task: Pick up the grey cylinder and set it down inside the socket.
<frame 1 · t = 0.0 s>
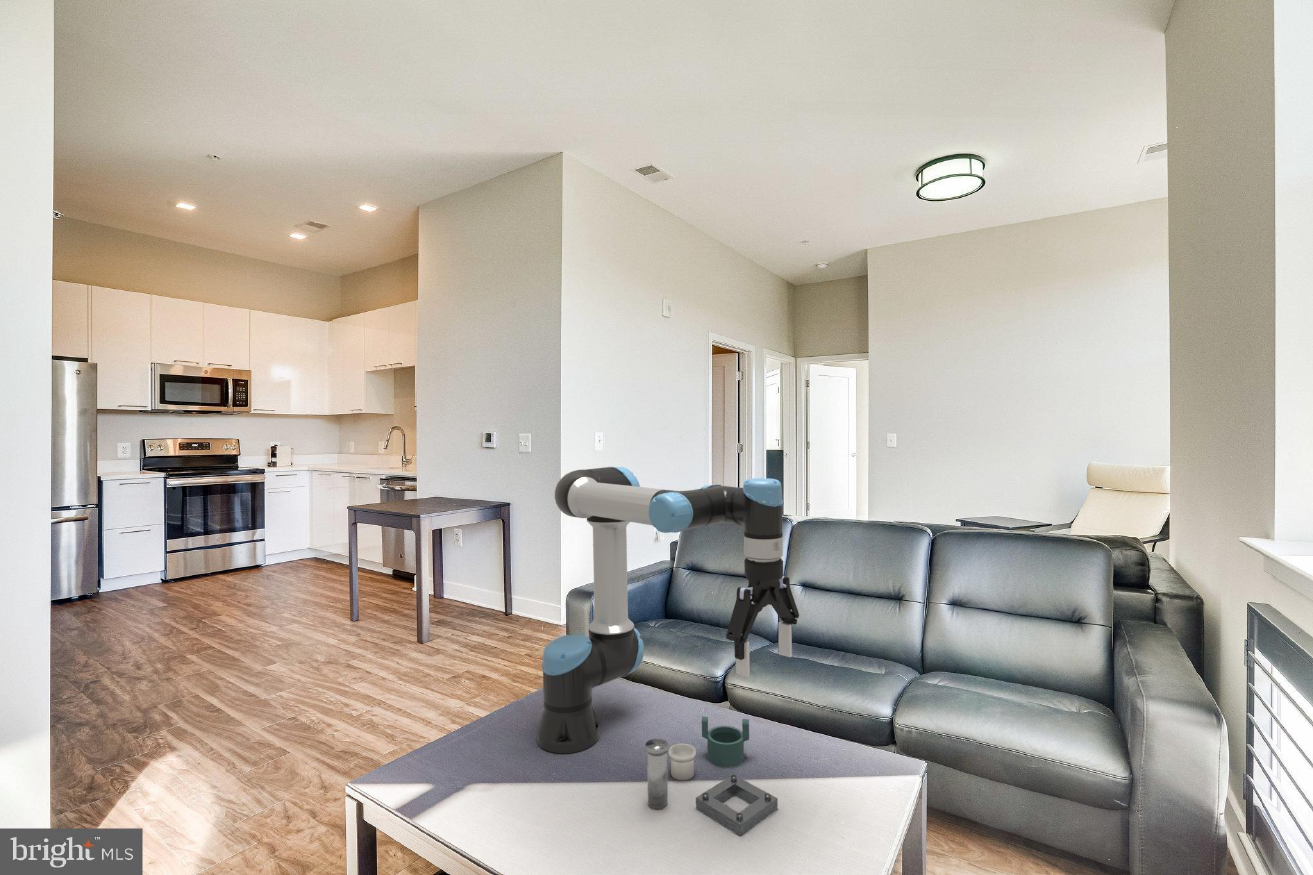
hand: (764, 664, 121), 28 cm above the table, fingers open, 13 cm apart
socket: (736, 808, 120), on the table
grey cylinder: (657, 803, 122), on the table
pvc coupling: (682, 773, 133), on the table
green cup holder: (725, 756, 139), on the table
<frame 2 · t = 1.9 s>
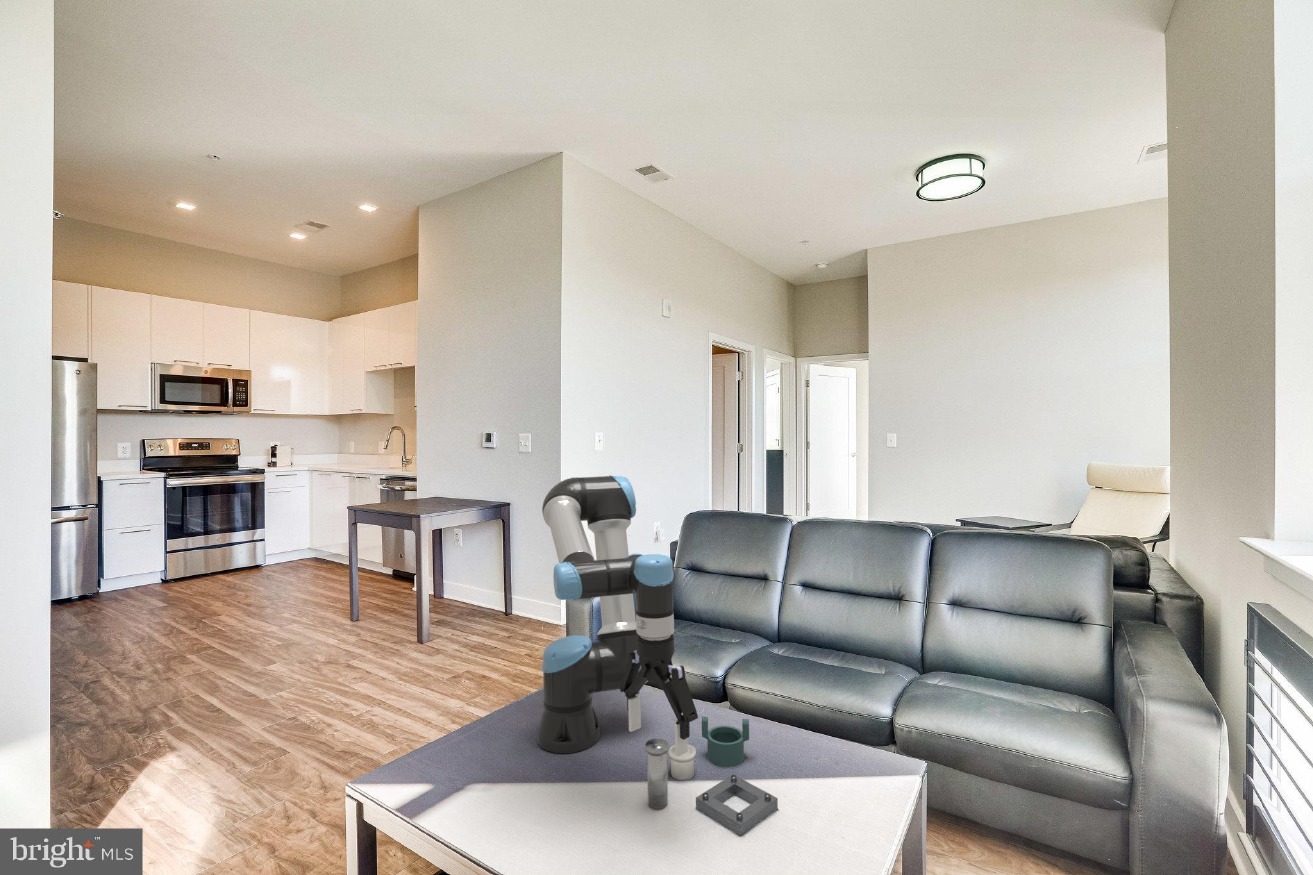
hand: (657, 741, 122), 13 cm above the table, fingers open, 13 cm apart
nothing on the table moved.
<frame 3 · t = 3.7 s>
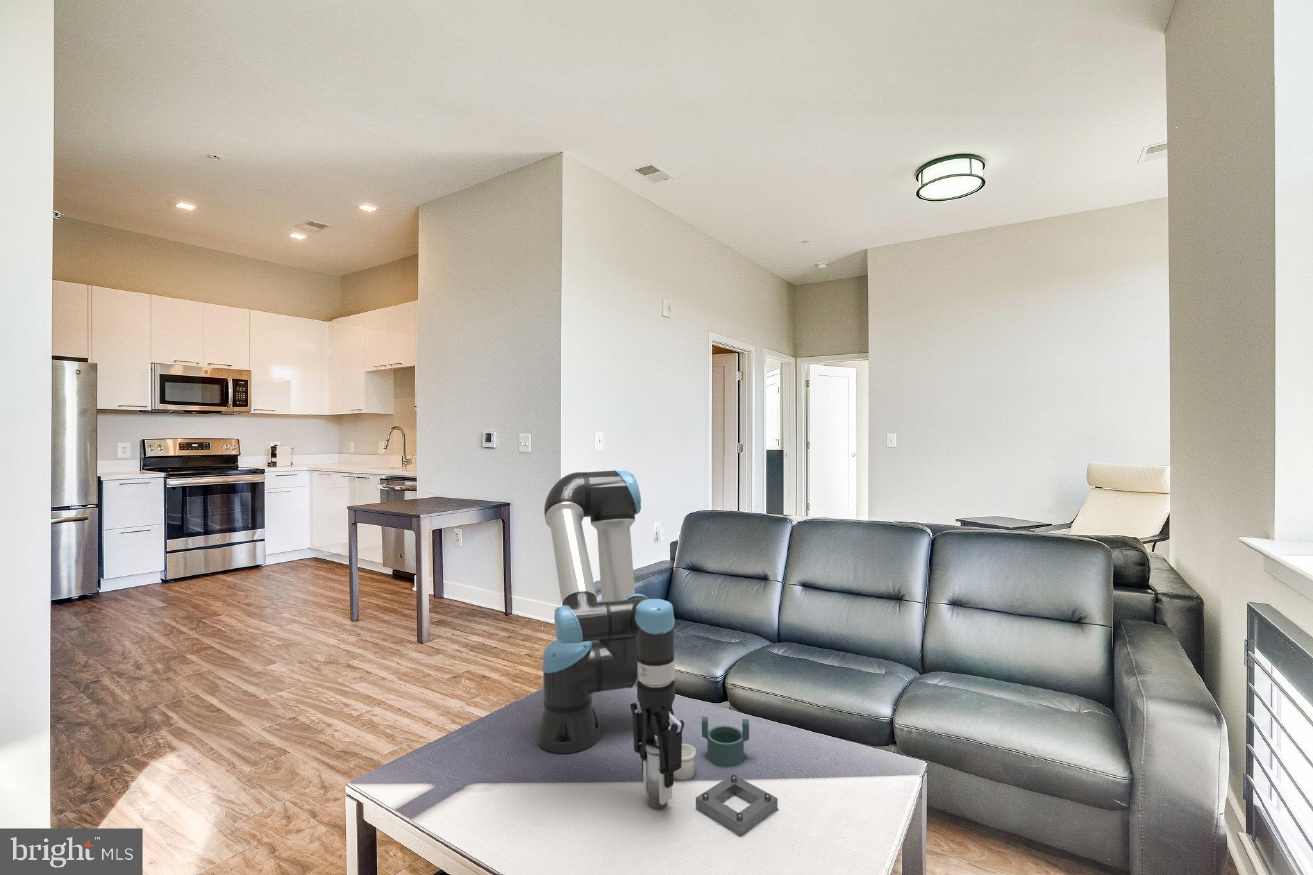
hand: (657, 795, 122), 2 cm above the table, fingers closed on grey cylinder, 4 cm apart
grey cylinder: (657, 803, 122), on the table, touching gripper
everything else where it was.
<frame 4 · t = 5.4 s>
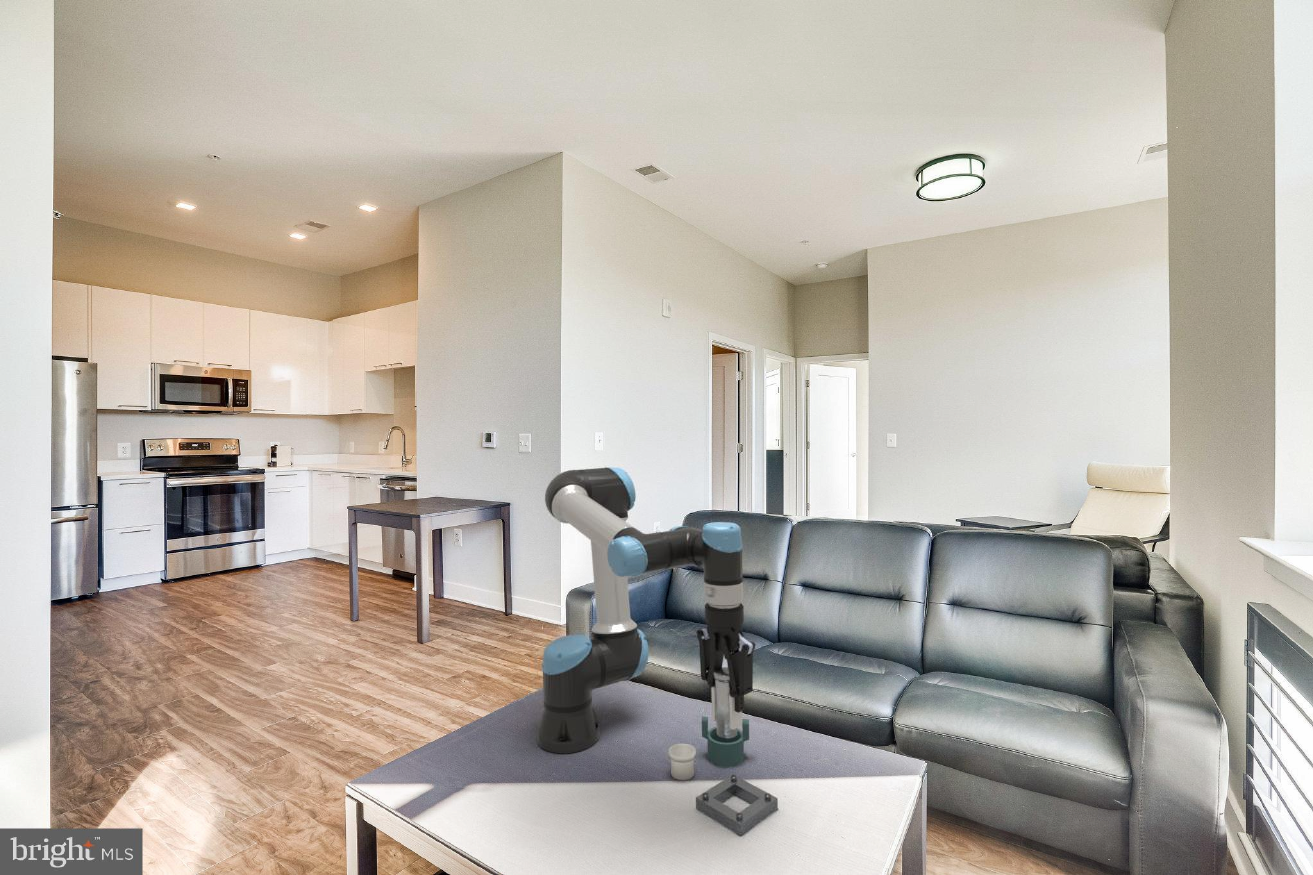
hand: (727, 722, 119), 17 cm above the table, fingers closed on grey cylinder, 4 cm apart
grey cylinder: (727, 733, 119), point 15 cm above the table, touching gripper
everything else where it was.
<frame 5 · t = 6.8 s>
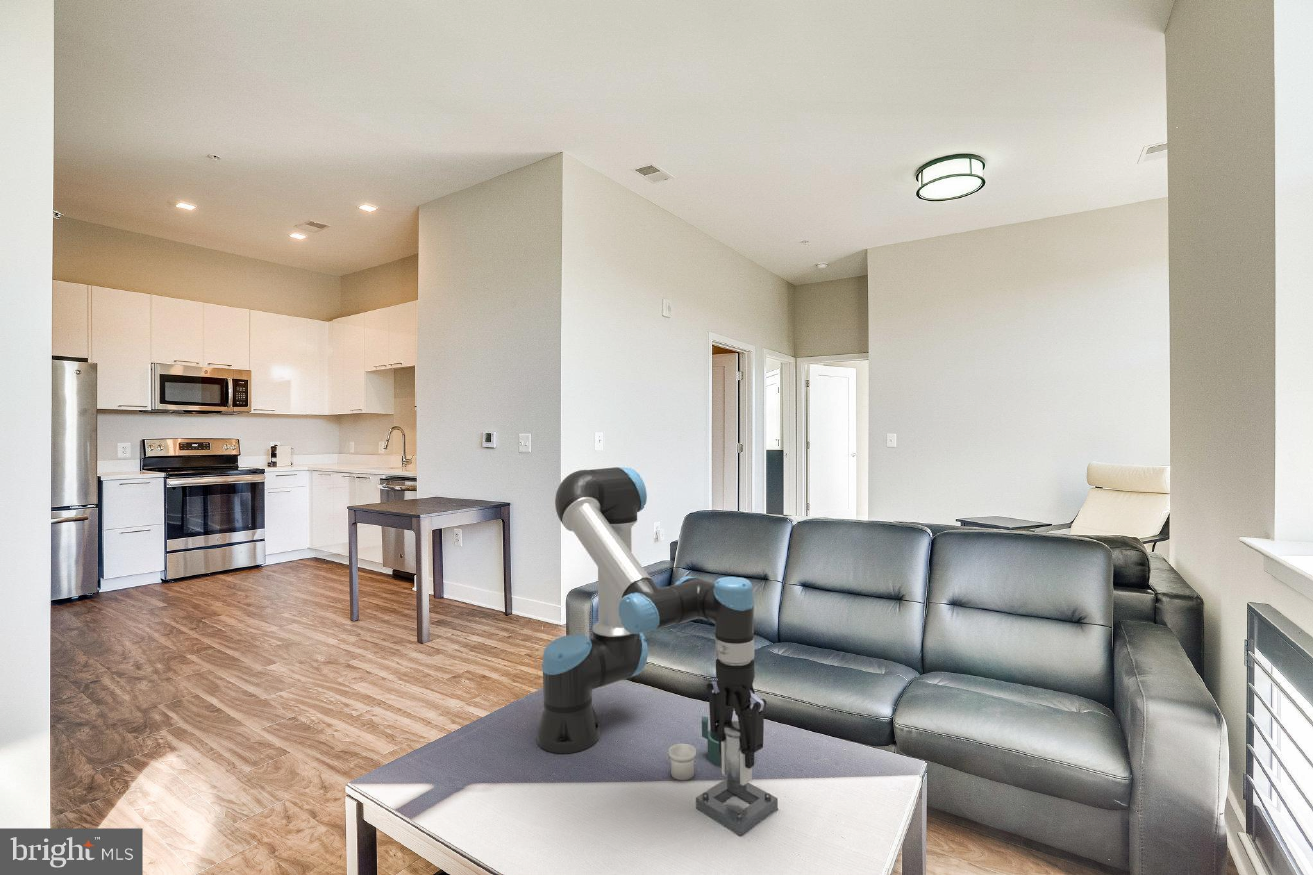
hand: (736, 776, 120), 6 cm above the table, fingers closed on grey cylinder, 4 cm apart
grey cylinder: (736, 787, 120), point 4 cm above the table, touching gripper
everything else where it was.
when the fingers open (4 cm above the table, at t = 7.5 s): grey cylinder drops 1 cm, resting in socket.
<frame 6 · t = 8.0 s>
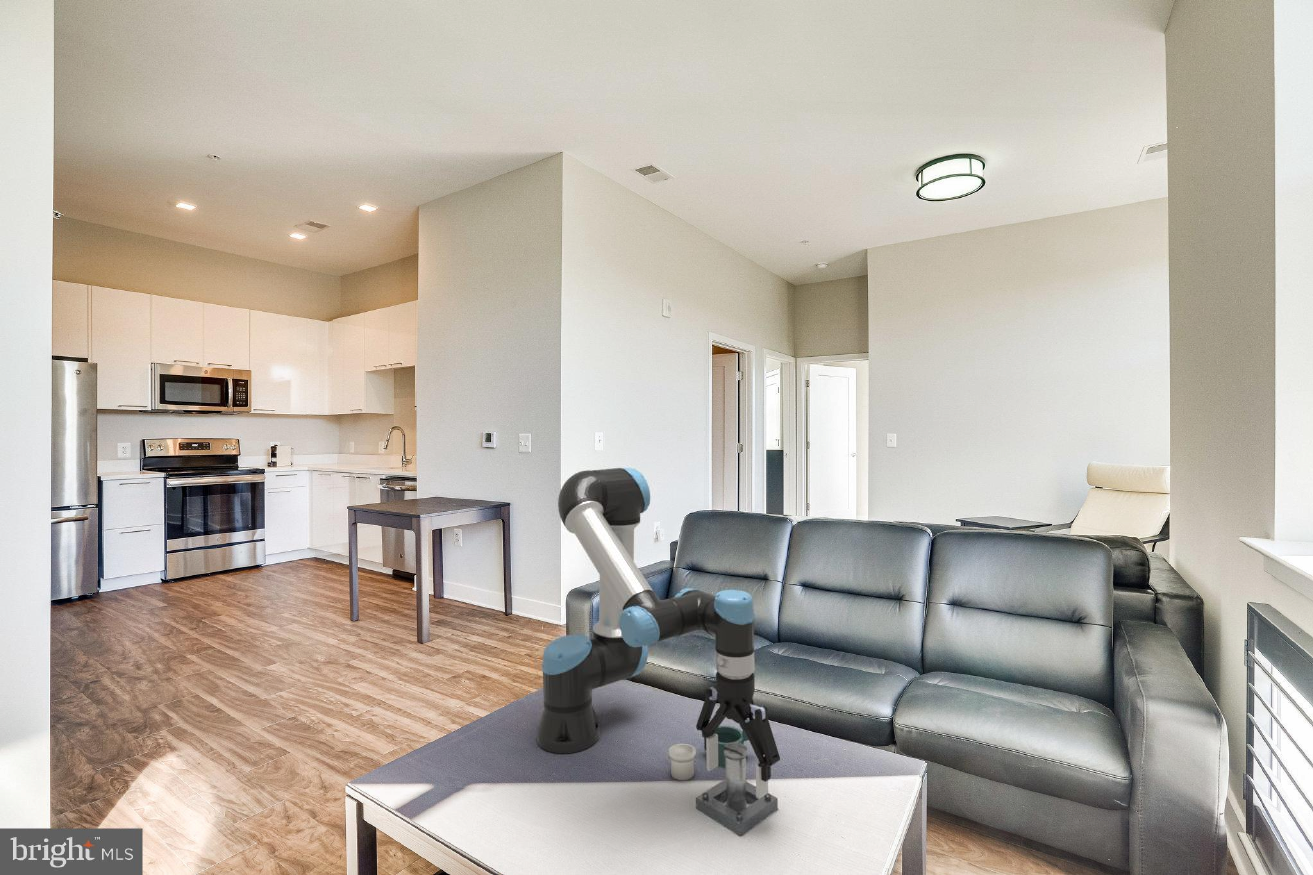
hand: (736, 781, 120), 6 cm above the table, fingers open, 12 cm apart
grey cylinder: (736, 808, 120), resting in socket
everything else where it was.
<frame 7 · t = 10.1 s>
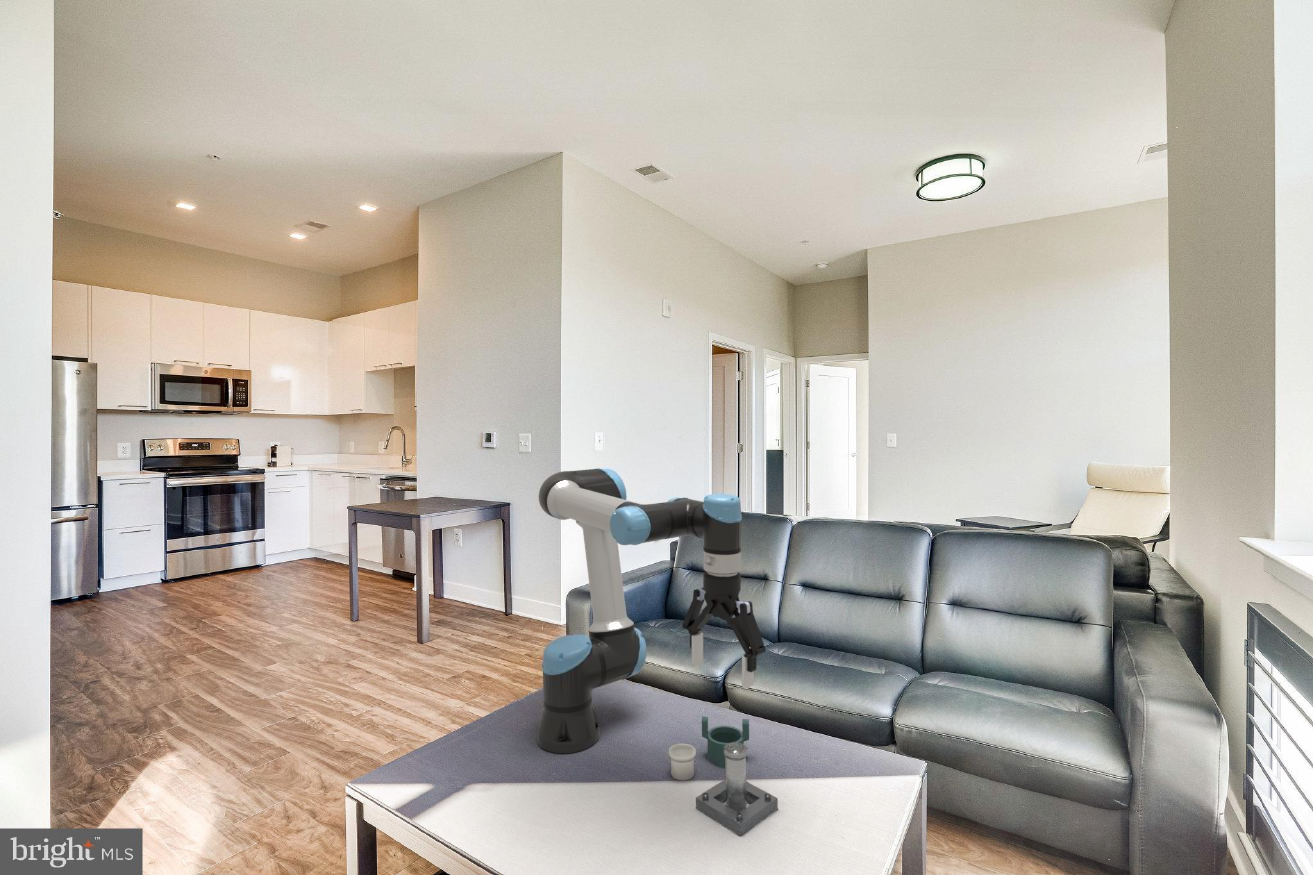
hand: (721, 675, 124), 25 cm above the table, fingers open, 13 cm apart
nothing on the table moved.
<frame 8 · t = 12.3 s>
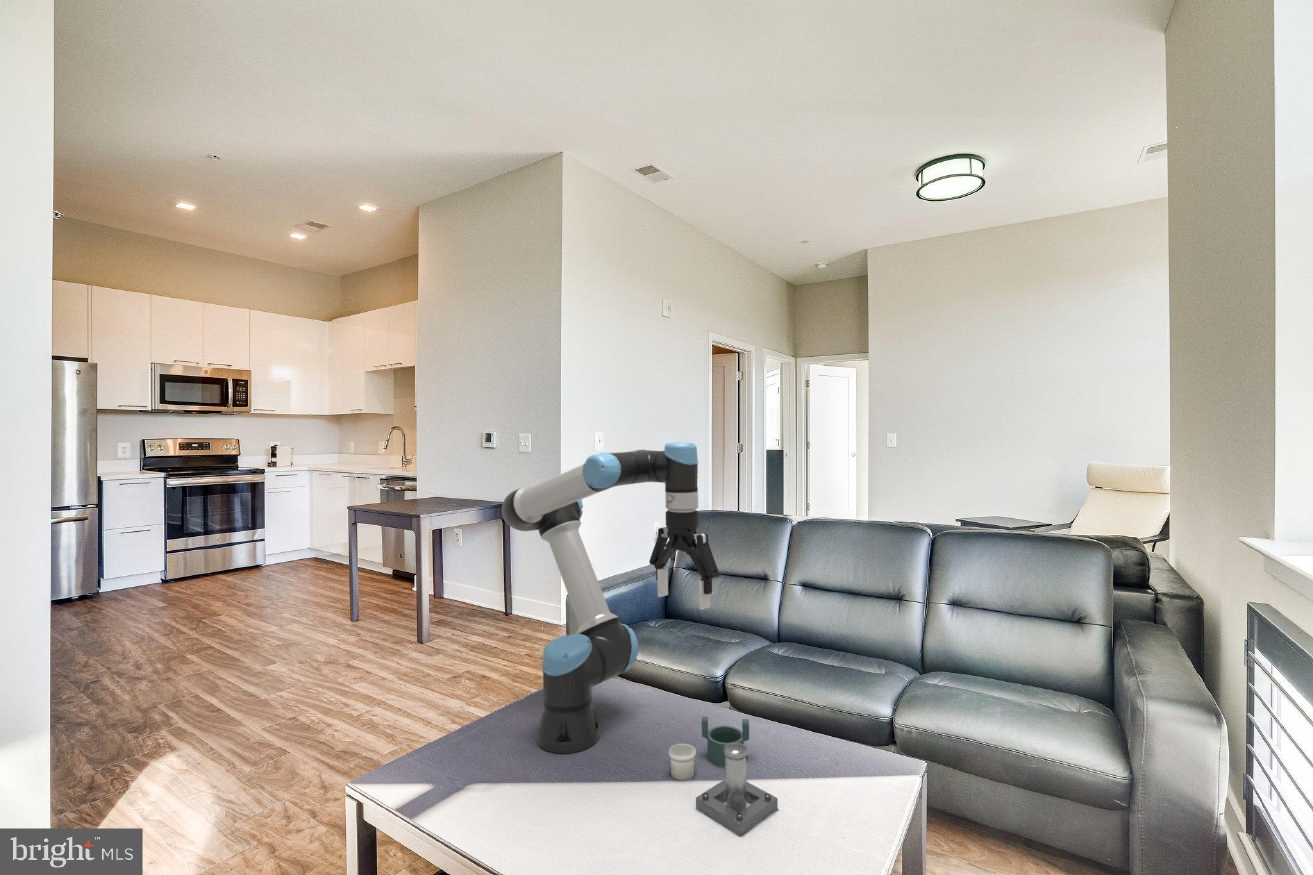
hand: (683, 601, 141), 35 cm above the table, fingers open, 13 cm apart
nothing on the table moved.
at the end: grey cylinder 0.1 cm from the socket (horizontally); grey cylinder resting in socket; grey cylinder tilted 0° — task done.
